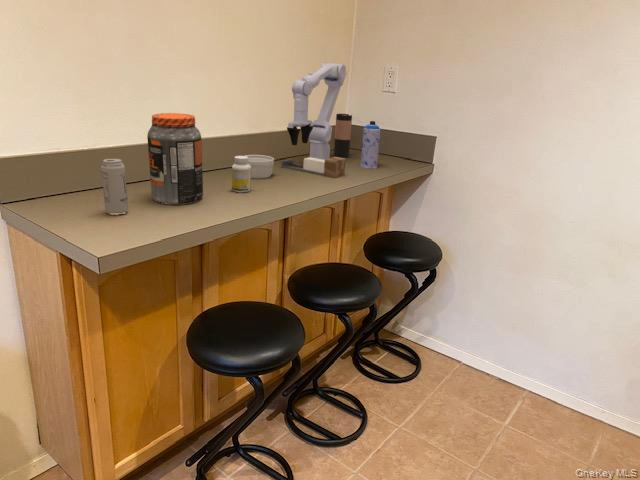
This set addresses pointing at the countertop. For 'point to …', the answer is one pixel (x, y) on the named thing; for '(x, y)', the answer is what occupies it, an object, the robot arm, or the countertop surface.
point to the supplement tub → (175, 159)
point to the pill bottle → (241, 174)
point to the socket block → (334, 167)
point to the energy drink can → (114, 186)
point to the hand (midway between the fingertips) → (299, 144)
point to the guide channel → (290, 162)
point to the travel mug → (342, 135)
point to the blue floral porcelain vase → (370, 146)
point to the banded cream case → (314, 164)
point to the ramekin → (260, 166)
